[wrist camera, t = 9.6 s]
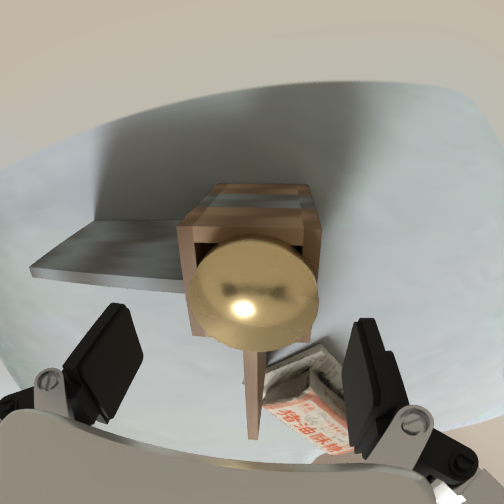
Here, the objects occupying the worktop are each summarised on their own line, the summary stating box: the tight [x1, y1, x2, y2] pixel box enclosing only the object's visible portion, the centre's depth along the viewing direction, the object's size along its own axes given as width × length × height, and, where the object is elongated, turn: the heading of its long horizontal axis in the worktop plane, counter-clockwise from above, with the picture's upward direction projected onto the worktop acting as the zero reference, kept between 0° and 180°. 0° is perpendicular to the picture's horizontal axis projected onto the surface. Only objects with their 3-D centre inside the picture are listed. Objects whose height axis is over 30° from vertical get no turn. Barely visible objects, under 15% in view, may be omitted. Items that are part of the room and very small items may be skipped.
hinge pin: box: [189, 234, 319, 352], centre depth 18 cm, size 6×6×10 cm
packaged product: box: [242, 344, 354, 455], centre depth 29 cm, size 18×5×10 cm
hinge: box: [29, 184, 322, 440], centre depth 22 cm, size 19×19×9 cm
